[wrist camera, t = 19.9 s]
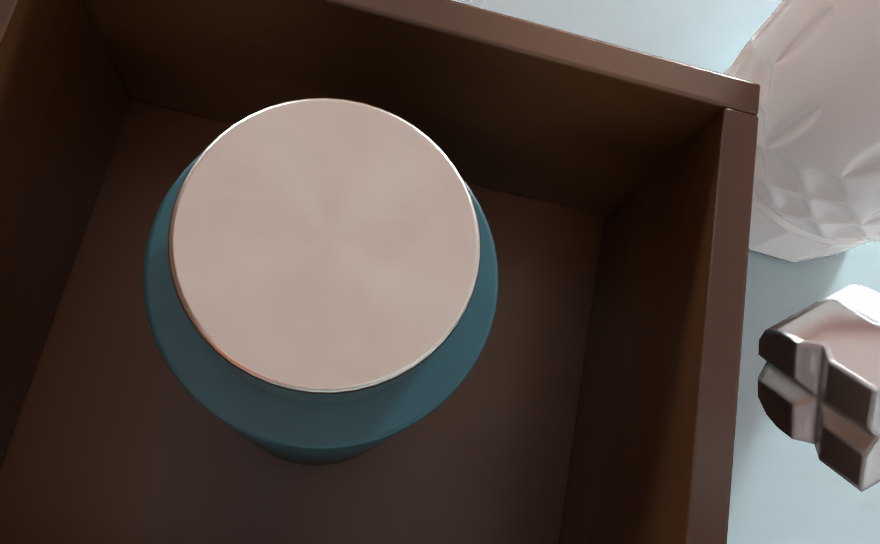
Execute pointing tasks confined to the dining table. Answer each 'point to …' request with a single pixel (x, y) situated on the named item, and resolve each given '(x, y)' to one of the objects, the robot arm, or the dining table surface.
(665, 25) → the dining table surface
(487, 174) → the chest
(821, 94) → the white cup
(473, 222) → the spray can
